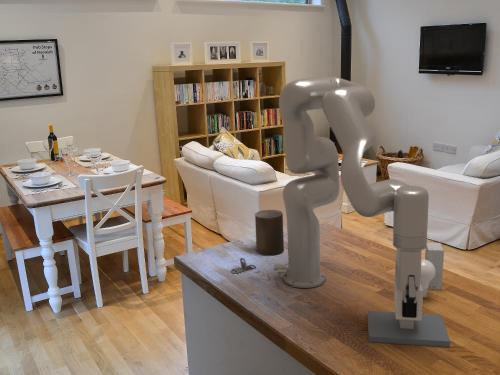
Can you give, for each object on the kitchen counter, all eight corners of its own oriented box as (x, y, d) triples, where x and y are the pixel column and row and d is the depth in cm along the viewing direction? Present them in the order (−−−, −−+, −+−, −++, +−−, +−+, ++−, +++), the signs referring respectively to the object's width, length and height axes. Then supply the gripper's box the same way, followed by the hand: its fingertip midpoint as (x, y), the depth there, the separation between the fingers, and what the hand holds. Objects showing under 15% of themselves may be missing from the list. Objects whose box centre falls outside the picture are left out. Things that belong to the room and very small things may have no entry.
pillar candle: (284, 255, 169) (283, 213, 166) (256, 256, 170) (254, 214, 166) (283, 245, 179) (282, 205, 175) (256, 246, 179) (254, 206, 175)
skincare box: (442, 290, 140) (444, 250, 137) (426, 289, 141) (428, 250, 138) (438, 280, 146) (440, 242, 143) (423, 279, 147) (425, 242, 144)
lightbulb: (431, 304, 132) (433, 266, 129) (407, 299, 136) (408, 262, 133) (436, 294, 137) (438, 257, 135) (413, 290, 141) (414, 254, 138)
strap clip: (234, 276, 156) (233, 263, 155) (229, 272, 158) (229, 260, 157) (257, 269, 160) (256, 256, 159) (252, 265, 163) (251, 253, 162)
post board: (368, 341, 117) (369, 311, 115) (367, 316, 128) (367, 287, 126) (449, 347, 113) (451, 315, 111) (440, 320, 125) (442, 291, 123)
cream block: (396, 319, 117) (396, 289, 115) (394, 307, 123) (394, 279, 121) (421, 320, 116) (422, 290, 114) (418, 308, 121) (419, 279, 120)
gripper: (390, 227, 123) (388, 293, 128) (396, 253, 107) (394, 328, 112) (421, 227, 122) (419, 294, 126) (432, 254, 106) (429, 330, 110)
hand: (407, 309), depth 119 cm, fingers closed on cream block, 5 cm apart
